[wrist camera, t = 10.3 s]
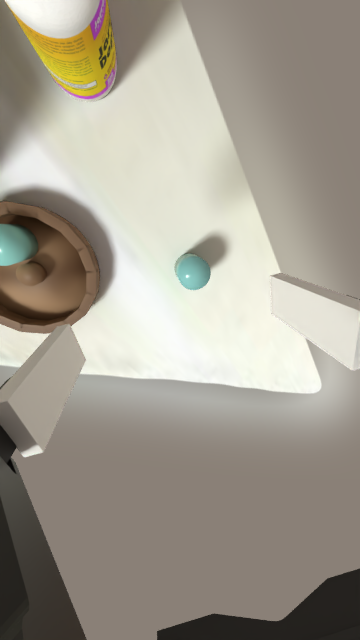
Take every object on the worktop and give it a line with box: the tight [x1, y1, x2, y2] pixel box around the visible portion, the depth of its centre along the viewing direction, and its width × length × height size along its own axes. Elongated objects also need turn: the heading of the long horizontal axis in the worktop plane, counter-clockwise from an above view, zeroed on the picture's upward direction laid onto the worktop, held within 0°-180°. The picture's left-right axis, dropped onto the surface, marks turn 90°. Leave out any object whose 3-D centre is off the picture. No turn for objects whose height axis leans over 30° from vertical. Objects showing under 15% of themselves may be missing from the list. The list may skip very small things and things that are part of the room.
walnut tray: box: [0, 201, 100, 334], centre depth 27 cm, size 15×15×3 cm
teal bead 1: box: [0, 224, 38, 266], centre depth 24 cm, size 4×4×4 cm
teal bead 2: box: [175, 253, 211, 290], centre depth 29 cm, size 4×4×4 cm
